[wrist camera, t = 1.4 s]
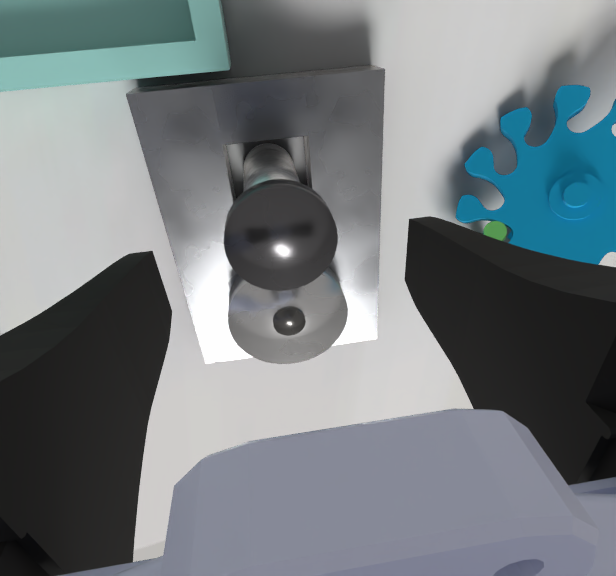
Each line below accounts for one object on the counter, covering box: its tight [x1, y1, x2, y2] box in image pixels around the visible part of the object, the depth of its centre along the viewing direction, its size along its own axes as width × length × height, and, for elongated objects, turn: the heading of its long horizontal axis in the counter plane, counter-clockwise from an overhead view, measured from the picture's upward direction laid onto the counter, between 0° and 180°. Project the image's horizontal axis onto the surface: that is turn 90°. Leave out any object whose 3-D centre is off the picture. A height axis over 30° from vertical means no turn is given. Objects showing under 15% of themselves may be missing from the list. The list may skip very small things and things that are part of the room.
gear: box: [456, 85, 616, 265], centre depth 20 cm, size 11×6×10 cm
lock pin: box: [224, 143, 338, 291], centre depth 16 cm, size 4×4×8 cm
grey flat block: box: [126, 65, 385, 364], centre depth 19 cm, size 10×14×4 cm
